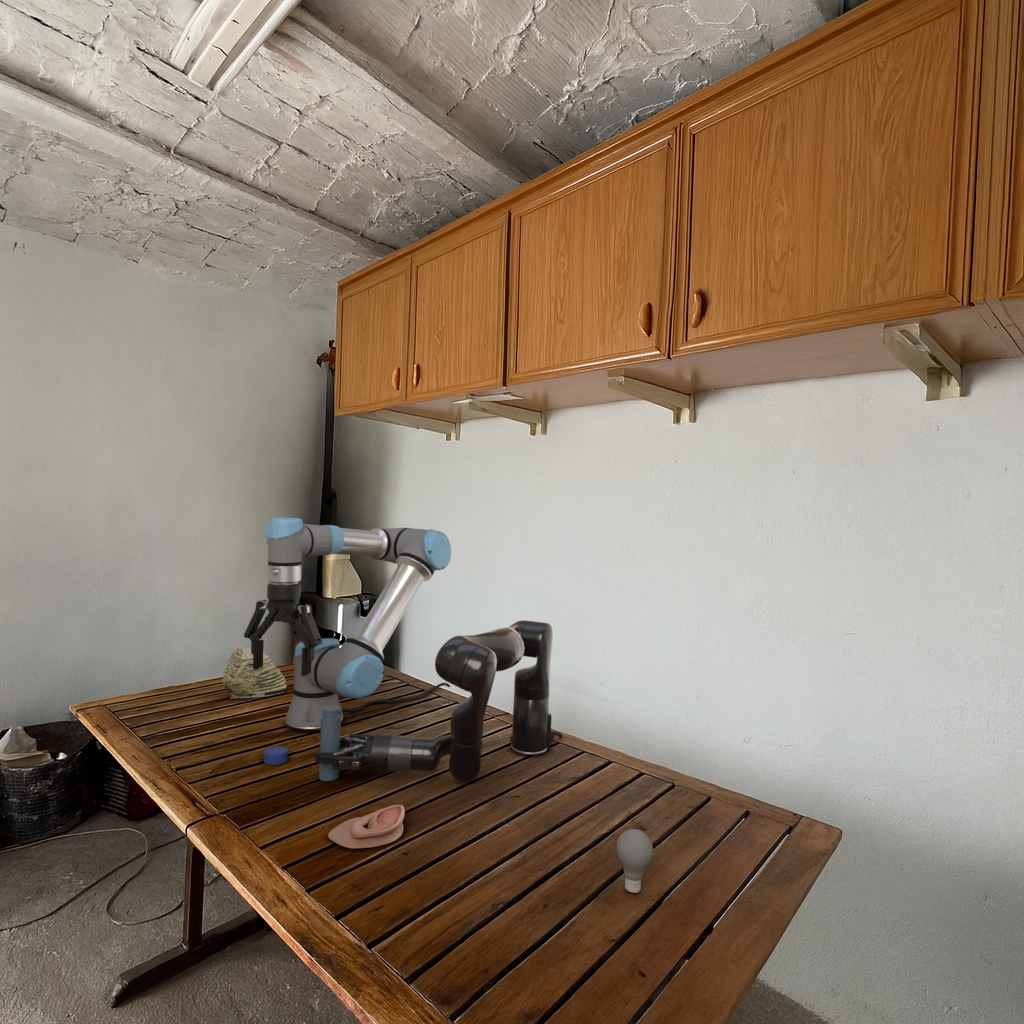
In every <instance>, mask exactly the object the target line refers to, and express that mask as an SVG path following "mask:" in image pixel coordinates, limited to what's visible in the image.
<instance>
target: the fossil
mask: <svg viewBox="0 0 1024 1024" xmlns="http://www.w3.org/2000/svg"><path fill="white" fill-rule="evenodd" d="M222 676H223V677H222V685H223V687H224V688H225V690H226V691H228V693H229V698H230V699H250V698H264V697H271V696H275V695H281V694H284V693H285V691H286V689H287V687H288V686H287V680H286V678H285V676H284V674H283V673H282V672H281V669H279V668H278V667H277V665H276V663H275V662H274V660H273V659H272V658H271V657H270V656H269V655H268V654H267V653H266V652H265V649H263V667H260V668H258V669H253V654H251V647H247V646H246V647H245V646H238V647H237V648H236V649H235V650H233V651H232V653H231V656H230V657H229V659H228V660H227V663H226V666H225V668H224V671H223V675H222Z"/></svg>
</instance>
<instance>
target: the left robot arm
mask: <svg viewBox="0 0 1024 1024" xmlns="http://www.w3.org/2000/svg"><path fill="white" fill-rule="evenodd" d="M264 536H265V537H264V539H265V543H266V544H267V546H268V547H267V581H268V584H267V586H266V599H268V601H267V600H266V599H262V600H258V601H256V603H255V610H254V612H253V615H252V617H251V619H249V620H250V621H249V623H248V625H247V627H246V629H245V631H244V633H243V637H244V638H245V639H248V640H250V649H251V654H253V669H258V668H260V667H263V650H264V643H265V641H264V639H263V636H264V635H265V634H266V633H267V631H268V630H269V629H270V628H271V626H272V625H273V624H274V623H278V622H279V623H281V622H282V623H283V624H284V623H285V624H287V623H288V625H289V626H290V627H292V628H293V630H294V632H295V633H296V634H297V636H298V638H299V639H300V642H299V643H298V644H297V645H296V646H295V650H294V651H295V652H294V655H293V658H294V670H293V671H294V672H293V695H292V696H293V697H292V699H291V702H290V704H289V708H288V711H287V713H286V715H285V726H286V728H287V729H289V730H291V731H294V732H295V731H296V732H301V733H316V732H321V716H322V715H323V711H322V709H323V707H324V706H327V705H338V706H340V708H341V709H340V714H341V724H342V723H343V722H344V714H343V712H344V713H346V712H349V713H350V712H353V713H354V712H358V711H360V710H362V709H364V708H366V707H368V706H370V705H374V704H386V703H388V704H390V703H401V702H408V701H409V702H410V701H414V700H419V699H422V698H424V697H425V696H427V695H428V694H430V693H431V692H433V691H435V690H437V689H439V688H441V687H443V686H445V687H447V688H451V685H450V683H449V682H441V683H439V684H437V685H435V686H433V687H431V688H429V689H427V690H426V691H425V692H423V693H422V694H419V695H415V696H410V697H403V698H402V697H401V698H393V699H391V698H390V699H375V700H370V701H367V702H365V703H363V704H361V705H360V706H357V707H353V708H350V707H348V708H347V707H346V708H342V706H341V702H340V699H339V695H340V696H341V697H343V698H347V699H354V700H362V699H365V698H367V697H370V696H371V695H372V694H373V693H374V692H375V691H377V690H378V688H379V686H380V685H381V683H382V681H383V677H384V674H383V672H384V671H385V669H384V663H383V661H384V660H385V655H384V652H383V650H384V649H385V647H386V645H387V644H388V642H389V640H390V639H391V637H392V635H393V633H394V632H395V630H396V629H397V626H398V625H399V623H400V622H401V620H402V618H403V616H404V615H405V613H406V612H407V610H408V608H409V606H410V604H411V603H412V601H413V599H414V598H415V597H416V595H417V592H418V591H419V590H420V588H421V586H422V584H423V582H428V581H430V580H432V577H433V575H434V573H436V571H442V570H445V569H446V568H447V567H448V566H449V564H450V561H451V557H452V545H451V542H450V540H449V537H448V536H447V534H446V533H444V532H443V531H441V530H435V529H432V528H430V529H424V528H423V529H422V528H413V527H392V528H391V527H390V528H380V527H373V528H372V529H370V530H366V529H356V528H348V527H347V528H346V527H340V526H338V525H331V524H324V525H323V524H322V525H321V524H310V523H309V524H307V523H303V520H302V518H300V517H274V518H271V519H270V520H269V525H268V527H267V528H266V531H265V534H264ZM331 555H348V556H360V557H361V556H362V557H368V558H369V559H371V560H375V561H383V562H388V563H392V564H396V569H395V570H394V572H393V574H392V575H391V577H390V578H389V580H388V581H387V583H386V585H385V586H384V588H383V589H382V591H381V593H380V595H379V596H378V598H377V599H376V601H375V602H374V604H373V606H372V607H371V609H370V611H369V612H368V613H367V615H366V617H365V618H364V620H363V621H362V623H361V625H360V627H359V628H358V629H357V631H356V633H355V634H354V635H351V636H348V637H346V638H345V640H344V642H343V643H342V645H341V643H340V641H339V639H337V638H331V637H329V638H322V636H321V634H320V632H319V629H318V627H317V624H316V621H315V618H314V615H313V611H312V605H311V604H310V603H308V604H304V605H303V604H302V605H301V604H300V599H301V591H302V589H301V587H302V585H301V583H300V581H302V562H303V561H302V560H303V558H304V557H315V556H326V557H327V556H331ZM266 611H268V613H267V615H266V616H265V614H266ZM300 615H301V616H300ZM264 616H265V617H264ZM263 618H264V619H263ZM262 620H263V621H262ZM340 646H341V647H340Z"/></svg>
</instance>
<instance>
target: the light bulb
mask: <svg viewBox="0 0 1024 1024" xmlns="http://www.w3.org/2000/svg"><path fill="white" fill-rule="evenodd" d="M615 849H616V854H617V857H618V859H619V861H620V863H621V865H622V867H623V873H624V874H623V875H624V876H625V878H624V888H625V890H627V891H628V892H630V893H634V894H635V893H639V892H640V891H641V889H642V887H641V886H642V879H643V877H644V875H645V871H646V868H647V867H648V866H649V864H650V863H651V861H652V859H653V855H654V847H653V843H652V841H651V838H649V836H648V835H647V834H646V833H645V832H643V831H642V830H641V829H636V828H629V829H627V830H625V831H623V832H622V833H621V834H620V835H619V837H618V839H617V841H616V847H615Z"/></svg>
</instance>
